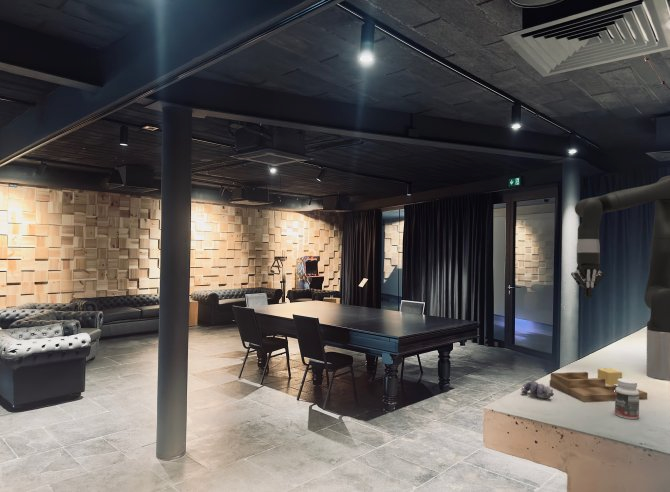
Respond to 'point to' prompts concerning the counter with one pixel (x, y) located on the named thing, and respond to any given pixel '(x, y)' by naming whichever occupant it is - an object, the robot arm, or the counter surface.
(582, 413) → the counter surface
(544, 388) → the seashell
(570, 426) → the counter surface
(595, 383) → the cubby
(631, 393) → the pill bottle
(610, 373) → the block
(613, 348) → the counter surface
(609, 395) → the wooden compartment tray
